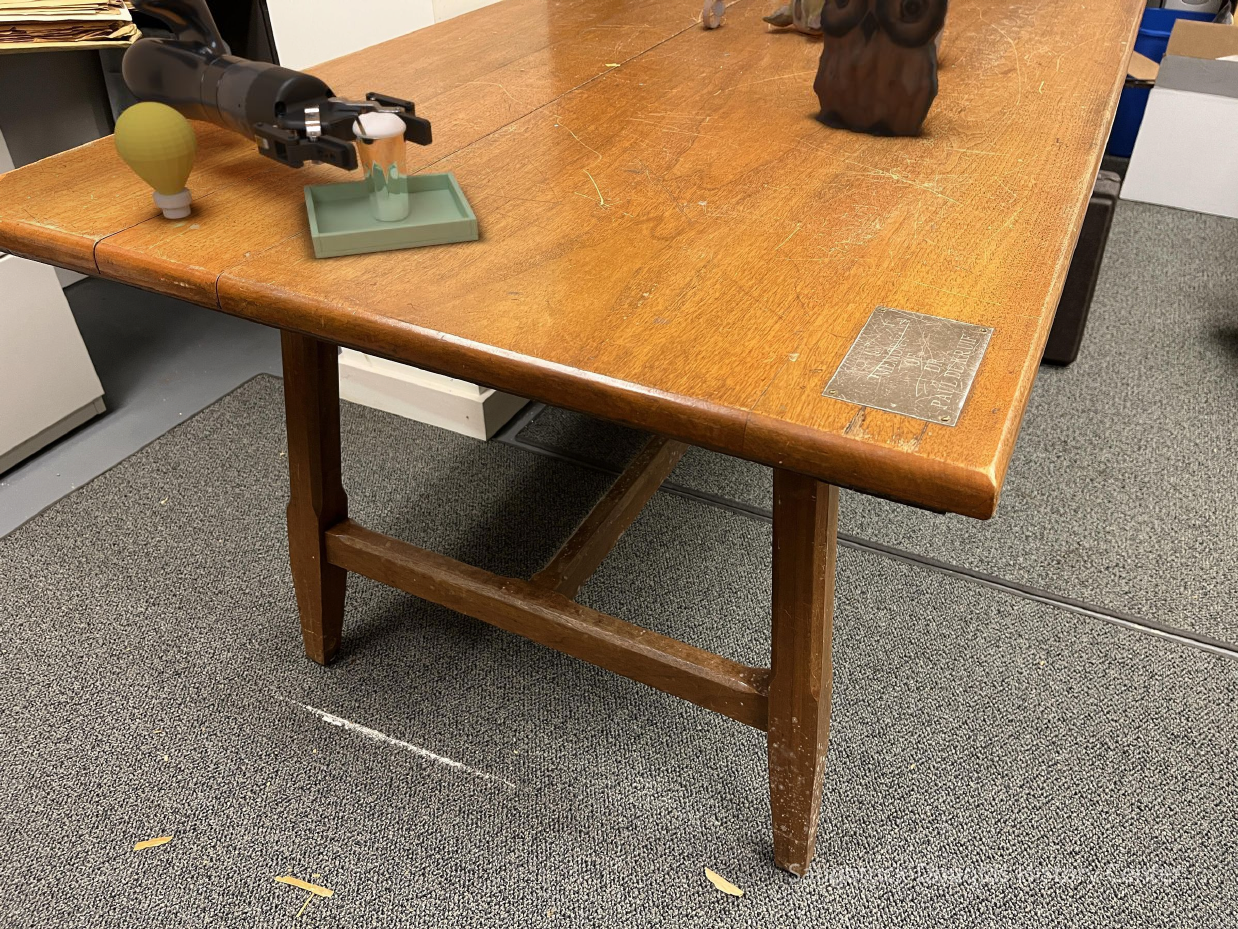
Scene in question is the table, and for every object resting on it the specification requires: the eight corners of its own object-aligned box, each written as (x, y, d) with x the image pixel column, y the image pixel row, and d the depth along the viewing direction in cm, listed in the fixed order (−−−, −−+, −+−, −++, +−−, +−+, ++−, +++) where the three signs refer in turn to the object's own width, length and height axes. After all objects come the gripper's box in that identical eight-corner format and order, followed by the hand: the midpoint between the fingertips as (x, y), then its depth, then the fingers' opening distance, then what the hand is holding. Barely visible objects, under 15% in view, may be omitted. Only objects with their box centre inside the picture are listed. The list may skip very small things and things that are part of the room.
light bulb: (122, 220, 83) (85, 108, 77) (175, 195, 88) (144, 88, 82) (179, 232, 81) (146, 119, 75) (230, 206, 86) (203, 98, 80)
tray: (316, 258, 78) (311, 236, 77) (307, 205, 87) (303, 185, 86) (478, 239, 82) (477, 218, 80) (453, 191, 91) (451, 171, 89)
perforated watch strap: (724, 25, 151) (727, -8, 148) (711, 31, 147) (714, -3, 144) (710, 23, 152) (712, -10, 149) (697, 28, 148) (699, -5, 145)
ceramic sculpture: (874, -29, 144) (816, -12, 136) (866, 29, 149) (810, 49, 142) (821, -38, 150) (761, -22, 142) (815, 18, 155) (758, 37, 148)
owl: (931, 138, 107) (976, -55, 94) (828, 141, 105) (860, -55, 93) (892, 106, 116) (927, -73, 104) (797, 108, 115) (822, -73, 103)
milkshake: (351, 223, 83) (332, 110, 77) (384, 202, 87) (369, 94, 81) (393, 231, 81) (377, 118, 75) (425, 210, 85) (412, 101, 79)
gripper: (200, 82, 79) (318, 120, 72) (331, 52, 89) (448, 83, 81) (221, 167, 84) (334, 211, 77) (344, 130, 93) (455, 166, 86)
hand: (392, 145), depth 79 cm, fingers open, 8 cm apart
